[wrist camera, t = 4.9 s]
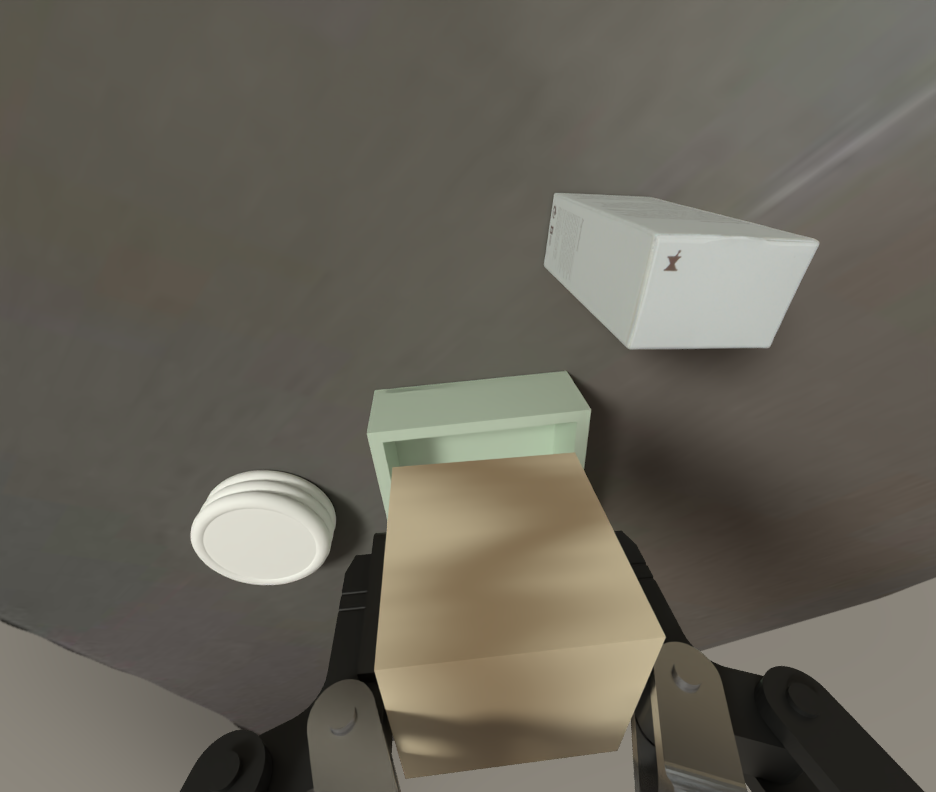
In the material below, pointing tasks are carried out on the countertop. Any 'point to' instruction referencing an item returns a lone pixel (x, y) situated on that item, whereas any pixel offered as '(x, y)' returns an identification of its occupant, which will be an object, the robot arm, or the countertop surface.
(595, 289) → the skincare box
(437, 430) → the tote
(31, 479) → the countertop surface
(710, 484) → the countertop surface
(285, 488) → the white round ribbed disc
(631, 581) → the maple cube
